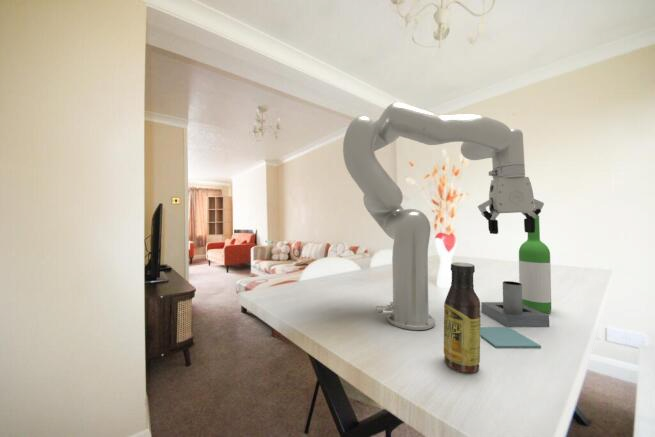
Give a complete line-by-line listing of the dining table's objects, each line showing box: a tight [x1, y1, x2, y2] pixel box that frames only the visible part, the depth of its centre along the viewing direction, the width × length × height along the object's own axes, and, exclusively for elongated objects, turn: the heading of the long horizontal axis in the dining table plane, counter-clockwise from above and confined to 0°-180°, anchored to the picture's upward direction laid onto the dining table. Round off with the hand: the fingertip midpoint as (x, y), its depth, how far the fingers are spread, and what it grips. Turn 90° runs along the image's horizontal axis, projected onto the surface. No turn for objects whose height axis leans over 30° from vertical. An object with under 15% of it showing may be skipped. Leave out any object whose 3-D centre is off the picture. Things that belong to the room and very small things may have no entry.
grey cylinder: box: [502, 280, 523, 312], centre depth 72 cm, size 4×4×10 cm
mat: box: [480, 326, 542, 349], centre depth 60 cm, size 10×10×1 cm
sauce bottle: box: [443, 261, 481, 374], centre depth 49 cm, size 7×6×20 cm
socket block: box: [480, 301, 550, 328], centre depth 72 cm, size 11×11×3 cm
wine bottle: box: [518, 214, 552, 315], centre depth 79 cm, size 8×8×30 cm
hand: (511, 233), depth 72 cm, fingers open, 9 cm apart
